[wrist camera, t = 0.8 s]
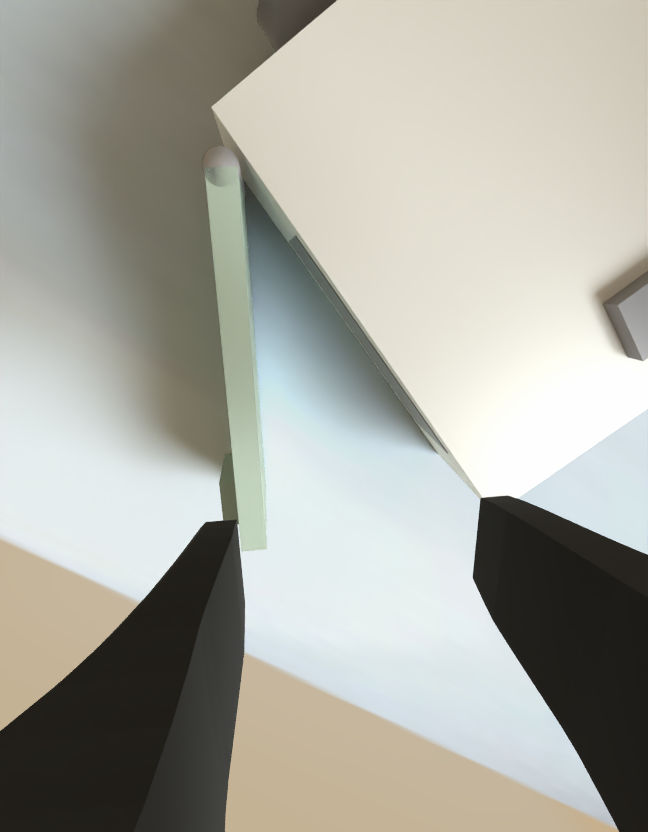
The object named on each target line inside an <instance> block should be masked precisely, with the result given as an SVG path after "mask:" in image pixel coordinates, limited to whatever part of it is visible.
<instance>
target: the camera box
mask: <svg viewBox="0 0 648 832" xmlns="http://www.w3.org/2000/svg"><path fill="white" fill-rule="evenodd" d="M257 19H258V23H259V25H260V27H261V28H262V30H263V31H264V33H265V35H266V36H267V38H268V40H269V41H270V43H271V44H272V46H273V48H274V49H275V51H276V53H274V54H273V55H272V56H271V57H270V58H269V59H267V60H266V61H265V62H264V63H263V64H261V65H260V66H259V67H258V68H257V69H256V70H254V71H253V72H252V73H251V74H250V75H248V76H247V77H246V78H245V79H244V80H243V81H241V82H240V83H239V84H238V85H237V86H235V87H234V88H233V89H232V90H231V91H230V92H228V93H227V94H226V95H225V96H224V97H222V98H221V99H220V100H219V101H218V102H217V103H215V104H214V105H213V106H212V107H211V108H212V111H213V114H214V117H215V120H216V123H217V126H218V130H219V133H220V136H221V139H222V142H223V145H224V147H227V148H229V149H230V150H231V151H232V152H233V153H234V154H235V155H236V157H237V159H238V161H239V165H240V170H241V174H242V178H243V179H244V181H245V182H246V184H247V185H248V187H249V188H250V189H251V191H252V192H253V194H254V195H255V196H256V198H257V199H258V201H259V202H260V203H261V205H262V206H263V208H264V209H265V211H266V212H267V213H268V215H269V216H270V218H271V219H272V220H273V222H274V223H275V225H276V226H277V227H278V229H279V230H280V232H281V233H282V234H283V236H284V237H285V239H286V240H287V242H288V243H289V244H290V246H291V247H292V249H293V250H294V251H295V253H296V254H297V256H298V257H299V258H300V260H301V261H302V263H303V264H304V265H305V267H306V268H307V270H308V271H309V273H310V274H311V275H312V277H313V278H314V280H315V281H316V282H317V284H318V285H319V287H320V288H321V289H322V291H323V292H324V294H325V295H326V296H327V298H328V299H329V301H330V302H331V304H332V305H333V306H334V308H335V309H336V311H337V312H338V313H339V315H340V316H341V318H342V319H343V320H344V322H345V323H346V325H347V326H348V328H349V329H350V330H351V332H352V333H353V335H354V336H355V337H356V339H357V340H358V342H359V343H360V344H361V346H362V347H363V349H364V350H365V351H366V353H367V354H368V356H369V357H370V359H371V360H372V361H373V363H374V364H375V366H376V367H377V368H378V370H379V371H380V373H381V374H382V375H383V377H384V378H385V380H386V381H387V382H388V384H389V385H390V387H391V388H392V390H393V391H394V392H395V394H396V395H397V397H398V398H399V399H400V401H401V402H402V404H403V405H404V406H405V408H406V409H407V411H408V412H409V413H410V415H411V416H412V418H413V419H414V421H415V422H416V423H417V425H418V426H419V428H420V429H421V430H422V432H423V433H424V435H425V436H426V437H427V439H428V440H429V442H430V443H431V445H432V446H433V447H434V449H435V450H436V452H437V453H438V454H439V455H440V457H441V458H442V459H443V460H444V461H445V462H446V463H447V464H448V465H449V466H450V467H451V468H452V469H453V471H454V472H455V473H456V474H457V475H458V476H459V477H460V478H461V479H462V480H463V481H464V482H465V483H466V485H467V486H468V487H469V488H470V489H471V490H472V491H473V492H474V493H475V494H476V495H477V496H478V497H479V498H480V500H481V498H484V497H495V496H506V495H508V496H511V497H514V498H519V497H520V496H521V495H523V494H524V493H526V492H527V491H529V490H530V489H532V488H533V487H534V486H536V485H537V484H539V483H540V482H542V481H543V480H545V479H546V478H548V477H549V476H550V475H552V474H553V473H555V472H556V471H558V470H559V469H561V468H562V467H563V466H565V465H566V464H568V463H569V462H571V461H572V460H574V459H575V458H576V457H578V456H579V455H581V454H582V453H584V452H585V451H587V450H588V449H589V448H591V447H592V446H594V445H595V444H597V443H598V442H600V441H601V440H602V439H604V438H605V437H607V436H608V435H610V434H611V433H613V432H614V431H616V430H617V429H618V428H620V427H621V426H623V425H624V424H626V423H627V422H629V421H630V420H631V419H633V418H634V417H636V416H637V415H639V414H640V413H642V412H643V411H644V410H646V409H647V408H648V0H259V4H258V8H257Z"/></svg>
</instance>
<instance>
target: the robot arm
mask: <svg viewBox="0 0 648 832" xmlns="http://www.w3.org/2000/svg"><path fill="white" fill-rule="evenodd" d="M473 579H474V581H475V584H476V586H477V588H478V590H479V592H480V595H481V597H482V599H483V601H484V603H485V605H486V607H487V609H488V611H489V613H490V615H491V617H492V619H493V621H494V623H495V624H496V626H497V628H498V629H499V631H500V632H501V634H502V636H503V637H504V639H505V640H506V642H507V643H508V645H509V647H510V648H511V650H512V651H513V653H514V654H515V656H516V658H517V659H518V661H519V662H520V664H521V665H522V667H523V668H524V670H525V671H526V673H527V674H528V676H529V677H530V679H531V681H532V682H533V684H534V685H535V687H536V688H537V690H538V691H539V693H540V694H541V696H542V697H543V699H544V701H545V702H546V704H547V705H548V707H549V708H550V710H551V711H552V713H553V714H554V716H555V717H556V719H557V720H558V722H559V724H560V725H561V727H562V728H563V730H564V732H565V733H566V735H567V737H568V738H569V740H570V742H571V743H572V745H573V747H574V748H575V750H576V751H577V753H578V755H579V757H580V758H581V760H582V762H583V764H584V766H585V768H586V770H587V772H588V773H589V775H590V777H591V779H592V781H593V783H594V785H595V787H596V788H597V790H598V792H599V794H600V796H601V798H602V800H603V801H604V803H605V805H606V807H607V809H608V811H609V813H610V815H611V816H612V818H613V820H614V822H615V824H616V826H617V828H618V830H619V832H648V555H647V554H644V553H642V552H639V551H637V550H635V549H632V548H630V547H628V546H625V545H623V544H621V543H618V542H616V541H614V540H611V539H609V538H607V537H604V536H602V535H600V534H598V533H595V532H593V531H591V530H589V529H586V528H584V527H582V526H580V525H578V524H575V523H573V522H571V521H569V520H566V519H564V518H562V517H560V516H558V515H555V514H553V513H551V512H549V511H546V510H544V509H542V508H540V507H537V506H535V505H532V504H530V503H528V502H525V501H523V500H520V499H517V498H514V497H511V496H508V495H506V496H495V497H484V498H481V500H480V510H479V520H478V530H477V540H476V550H475V560H474V570H473ZM244 635H245V598H244V588H243V578H242V568H241V558H240V548H239V538H238V527H237V519H236V520H225V521H214V522H206V523H205V524H204V525H203V526H202V527H201V528H200V529H199V531H198V532H197V533H196V535H195V536H194V537H193V539H192V540H191V541H190V543H189V544H188V545H187V547H186V548H185V549H184V551H183V552H182V553H181V555H180V556H179V557H178V558H177V560H176V561H175V562H174V564H173V565H172V566H171V567H170V568H169V570H168V571H167V572H166V573H165V575H164V576H163V577H162V578H161V579H160V581H159V582H158V583H157V584H156V585H155V587H154V588H153V589H152V590H151V591H150V593H149V594H148V595H147V596H146V597H145V598H144V599H143V600H142V601H141V603H140V604H139V605H138V606H137V607H136V608H135V609H134V610H133V611H132V612H131V613H130V615H129V616H128V617H127V618H126V619H125V620H124V621H123V622H122V624H120V625H119V627H118V628H117V629H116V630H115V631H114V632H113V633H112V634H111V635H110V636H109V637H108V638H107V639H106V640H105V641H104V642H103V643H102V644H101V645H100V646H99V647H98V648H97V649H96V650H95V651H94V652H93V653H92V654H90V655H89V656H88V657H87V658H86V659H85V660H84V661H83V662H82V663H81V664H80V665H78V666H77V667H76V668H75V669H74V670H73V671H72V672H71V673H70V674H69V675H68V676H66V678H64V679H63V680H62V681H61V682H60V683H58V684H57V685H56V686H55V687H54V688H53V689H51V690H50V691H49V692H48V693H46V694H45V695H44V696H43V697H42V698H40V699H39V700H38V701H37V702H36V703H34V704H33V705H32V706H30V707H29V708H28V709H27V710H26V711H24V712H23V713H22V714H21V715H19V716H18V717H17V718H16V719H15V720H13V721H12V722H11V723H10V724H8V726H6V727H5V728H4V729H2V730H1V731H0V832H225V813H226V800H227V790H228V778H229V771H230V770H229V769H230V762H231V754H232V747H233V738H234V729H235V722H236V714H237V706H238V698H239V690H240V682H241V674H242V666H243V657H244Z"/></svg>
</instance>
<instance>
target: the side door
mask: <svg viewBox="0 0 648 832" xmlns="http://www.w3.org/2000/svg"><path fill="white" fill-rule="evenodd" d="M202 169H203V173H204V175H205V180H206V190H207V201H208V211H209V221H210V232H211V242H212V252H213V262H214V273H215V283H216V293H217V303H218V314H219V324H220V334H221V345H222V355H223V365H224V375H225V386H226V396H227V406H228V417H229V427H230V437H231V447H232V453H231V454H225V457H224V462H223V467H222V472H221V477H220V482H219V485H220V494H221V503H222V512H223V521H225V520H236V519H237V524H239V530H240V540H241V550H242V551H251V550H262V549H267V540H266V483H265V470H264V456H263V442H262V429H261V415H260V401H259V388H258V374H257V360H256V346H255V333H254V319H253V305H252V292H251V278H250V264H249V251H248V237H247V223H246V210H245V198H246V191H245V187H244V183H243V178H242V174H241V170H240V165H239V161H238V159H237V157H236V155H235V154H234V153H233V152H232V151H231V150H230V149H229V148H227V147H224V146H214V147H212V148H210V149H209V150H208V151H207V152H206V153H205V155H204V157H203V160H202Z"/></svg>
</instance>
